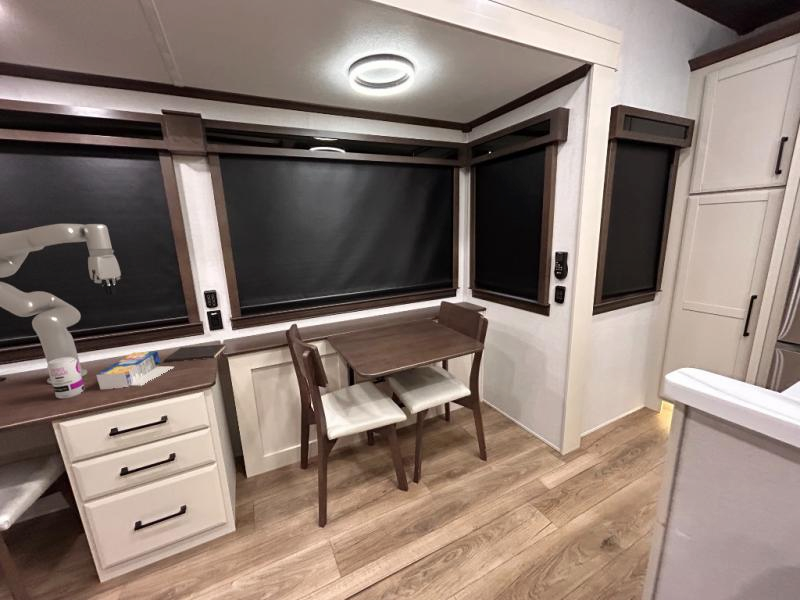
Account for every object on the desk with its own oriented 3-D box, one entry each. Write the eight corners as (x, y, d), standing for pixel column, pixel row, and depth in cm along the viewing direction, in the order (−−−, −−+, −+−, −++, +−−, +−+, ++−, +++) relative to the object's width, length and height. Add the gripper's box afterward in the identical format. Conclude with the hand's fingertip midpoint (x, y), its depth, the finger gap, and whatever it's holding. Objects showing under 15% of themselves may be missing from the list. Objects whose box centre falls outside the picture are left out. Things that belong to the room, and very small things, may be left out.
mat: (101, 385, 133) (101, 384, 133) (138, 367, 151) (138, 366, 151) (141, 386, 132) (140, 384, 132) (173, 367, 150) (173, 366, 150)
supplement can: (83, 387, 133) (74, 354, 129) (86, 393, 128) (77, 359, 124) (55, 395, 127) (45, 360, 123) (57, 401, 121) (46, 366, 118)
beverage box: (124, 372, 130) (157, 351, 151) (95, 374, 129) (133, 352, 150) (128, 387, 132) (160, 363, 153) (100, 389, 130) (136, 365, 151)
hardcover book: (181, 351, 171) (180, 347, 171) (226, 348, 175) (225, 344, 175) (165, 363, 156) (164, 359, 156) (214, 359, 160) (214, 355, 159)
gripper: (110, 251, 143) (119, 291, 147) (74, 254, 129) (86, 297, 133) (125, 251, 143) (133, 290, 147) (91, 254, 128) (102, 297, 132)
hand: (111, 294), depth 140 cm, fingers closed
